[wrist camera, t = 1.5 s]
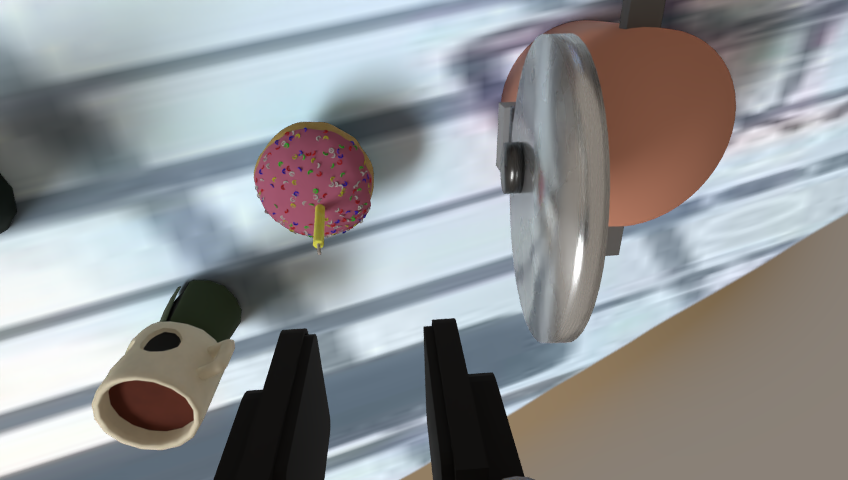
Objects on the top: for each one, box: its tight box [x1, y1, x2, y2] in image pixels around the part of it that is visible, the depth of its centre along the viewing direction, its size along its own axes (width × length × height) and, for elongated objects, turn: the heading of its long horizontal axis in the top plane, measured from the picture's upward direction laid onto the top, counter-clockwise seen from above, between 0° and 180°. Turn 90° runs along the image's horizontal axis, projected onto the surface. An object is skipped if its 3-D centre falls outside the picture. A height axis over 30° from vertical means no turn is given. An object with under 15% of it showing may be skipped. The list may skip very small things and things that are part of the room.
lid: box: [500, 33, 610, 343], centre depth 22 cm, size 13×15×2 cm
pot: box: [496, 0, 736, 256], centre depth 33 cm, size 18×14×10 cm
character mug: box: [92, 280, 242, 450], centre depth 38 cm, size 11×7×13 cm, turn 114°
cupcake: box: [254, 122, 374, 255], centre depth 33 cm, size 9×8×12 cm
